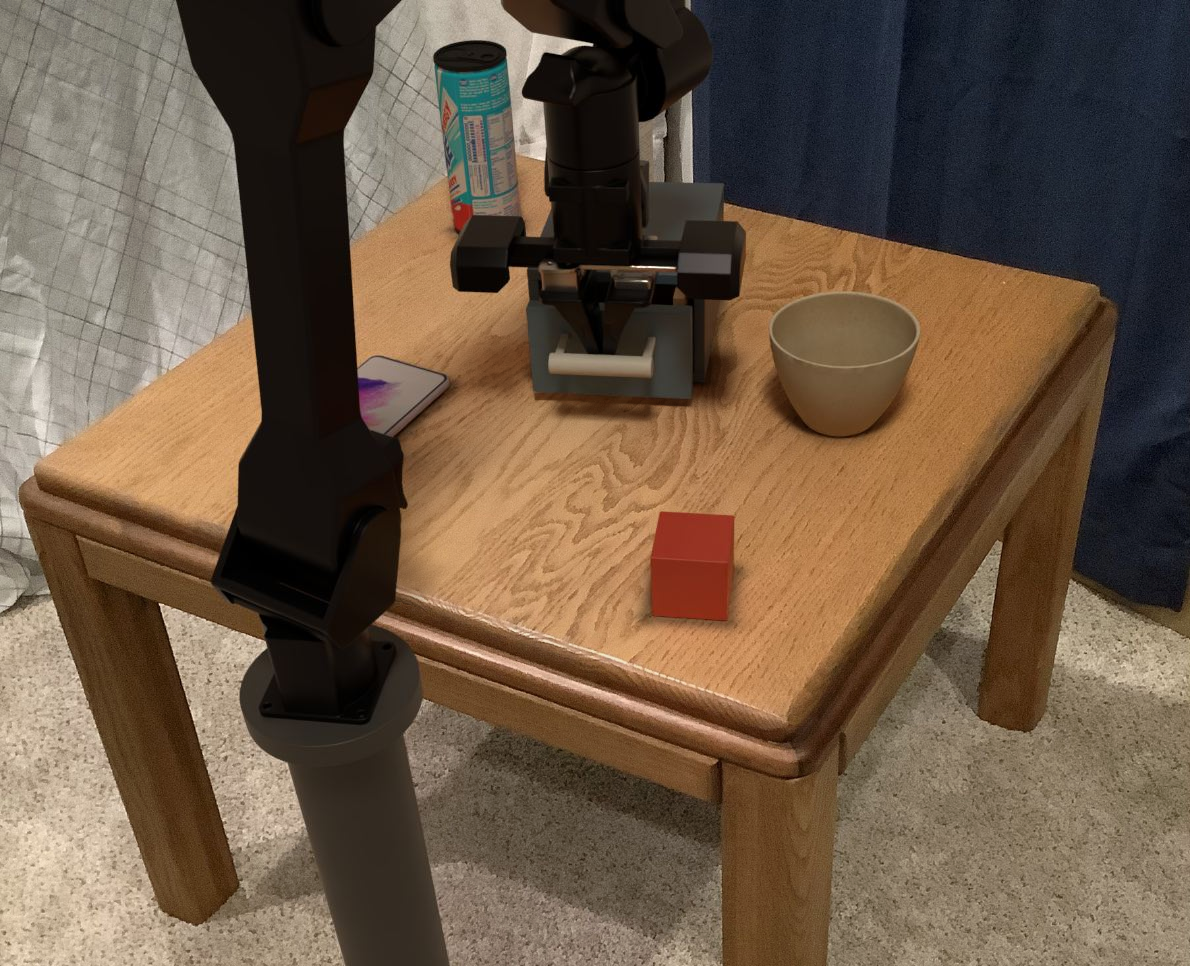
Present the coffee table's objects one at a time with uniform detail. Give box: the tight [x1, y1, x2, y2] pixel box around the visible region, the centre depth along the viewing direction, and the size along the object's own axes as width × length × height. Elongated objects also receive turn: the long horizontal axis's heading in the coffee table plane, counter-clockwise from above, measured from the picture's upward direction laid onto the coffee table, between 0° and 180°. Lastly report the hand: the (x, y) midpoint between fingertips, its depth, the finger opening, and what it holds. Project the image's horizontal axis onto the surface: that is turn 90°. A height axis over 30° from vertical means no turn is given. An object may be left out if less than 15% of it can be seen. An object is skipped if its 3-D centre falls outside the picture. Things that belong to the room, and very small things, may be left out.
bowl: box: [768, 290, 921, 437], centre depth 98 cm, size 10×10×7 cm
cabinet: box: [526, 181, 725, 383], centre depth 107 cm, size 15×13×9 cm
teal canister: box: [432, 39, 522, 235], centre depth 119 cm, size 6×6×15 cm
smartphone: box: [357, 354, 451, 438], centre depth 102 cm, size 7×1×15 cm
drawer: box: [525, 282, 694, 400], centre depth 103 cm, size 18×11×7 cm, turn 171°
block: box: [649, 510, 736, 621], centre depth 85 cm, size 4×4×4 cm
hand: (605, 368), depth 98 cm, fingers closed, pressing on drawer
